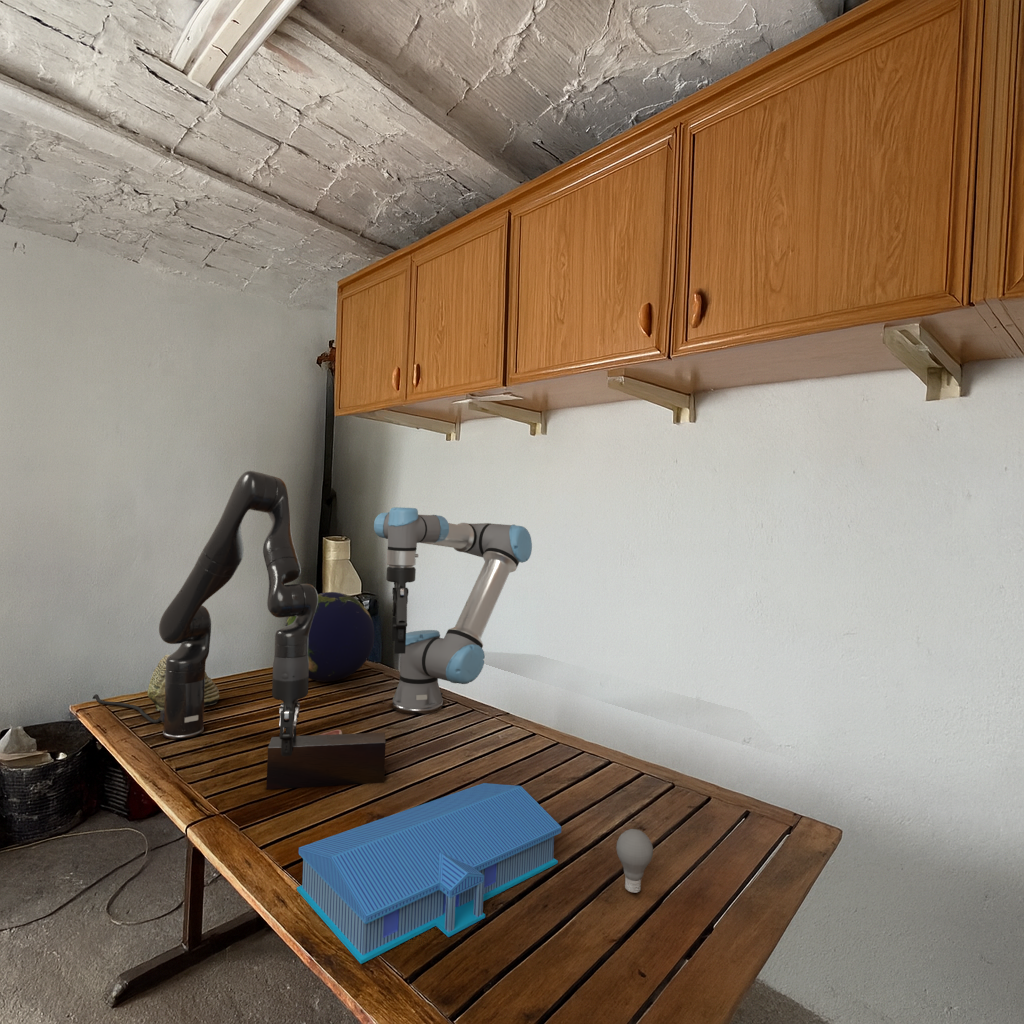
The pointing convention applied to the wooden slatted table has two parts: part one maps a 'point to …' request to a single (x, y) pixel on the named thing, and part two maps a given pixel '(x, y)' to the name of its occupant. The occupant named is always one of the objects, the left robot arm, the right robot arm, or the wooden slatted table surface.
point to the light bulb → (634, 857)
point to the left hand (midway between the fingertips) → (288, 747)
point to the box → (327, 761)
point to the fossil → (158, 687)
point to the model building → (426, 866)
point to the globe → (338, 637)
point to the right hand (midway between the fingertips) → (398, 647)
